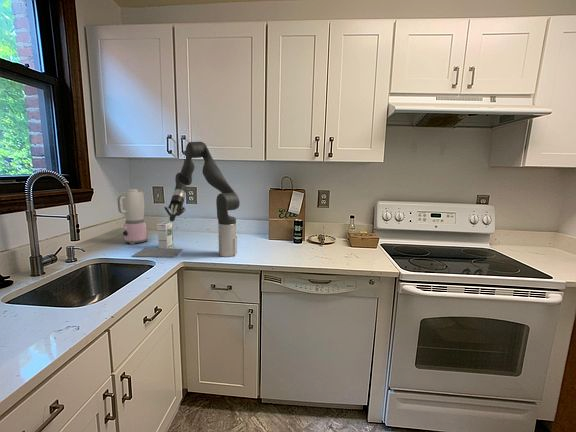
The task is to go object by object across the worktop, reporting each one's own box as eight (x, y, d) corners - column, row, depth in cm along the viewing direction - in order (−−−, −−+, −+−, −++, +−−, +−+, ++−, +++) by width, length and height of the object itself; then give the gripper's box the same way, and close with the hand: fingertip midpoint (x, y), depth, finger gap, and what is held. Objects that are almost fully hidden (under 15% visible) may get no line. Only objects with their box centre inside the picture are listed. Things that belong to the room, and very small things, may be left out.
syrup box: (167, 249, 161) (166, 224, 159) (158, 248, 162) (156, 223, 160) (173, 246, 167) (172, 222, 164) (164, 246, 168) (163, 221, 165)
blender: (139, 238, 183) (135, 188, 178) (152, 241, 177) (149, 189, 172) (114, 244, 169) (110, 189, 164) (127, 247, 164) (123, 191, 158)
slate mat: (182, 249, 161) (182, 248, 161) (173, 257, 148) (173, 256, 147) (144, 249, 161) (144, 248, 161) (131, 256, 147) (131, 255, 147)
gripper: (165, 194, 179) (158, 216, 169) (187, 194, 179) (181, 217, 169) (169, 201, 185) (162, 224, 175) (190, 202, 185) (184, 224, 175)
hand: (171, 220), depth 172 cm, fingers closed
